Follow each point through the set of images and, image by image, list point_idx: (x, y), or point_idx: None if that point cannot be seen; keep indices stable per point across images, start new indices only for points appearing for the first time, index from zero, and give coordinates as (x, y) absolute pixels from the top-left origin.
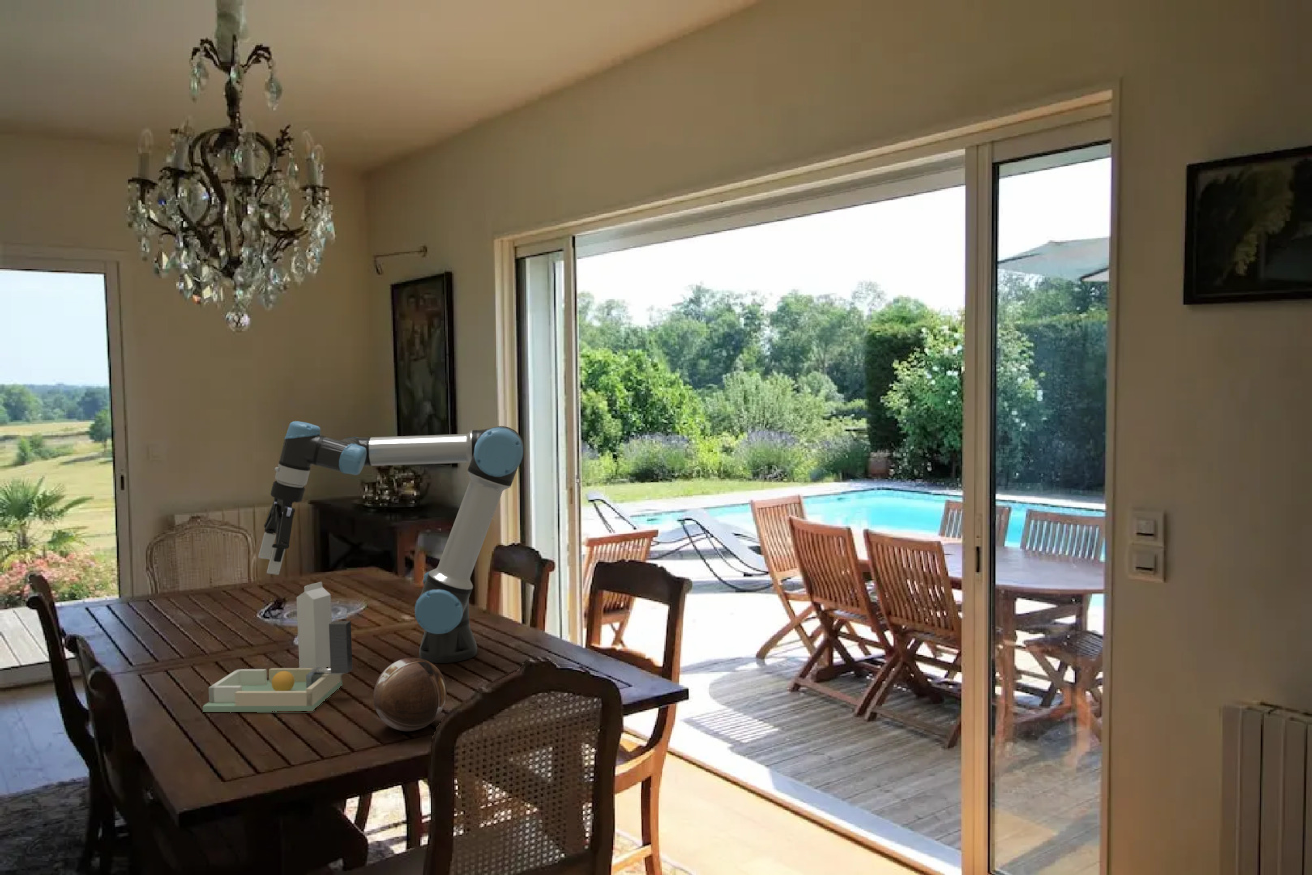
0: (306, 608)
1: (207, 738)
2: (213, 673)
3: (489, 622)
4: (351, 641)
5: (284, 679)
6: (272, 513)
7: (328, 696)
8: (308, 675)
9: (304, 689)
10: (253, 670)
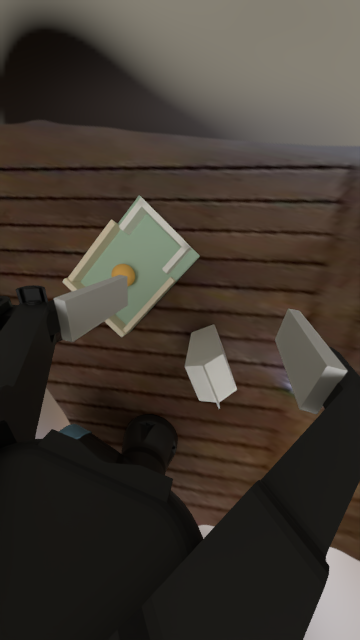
0: (200, 354)
1: (67, 183)
2: (275, 246)
3: None
4: (57, 341)
5: (111, 273)
6: (213, 530)
7: None
8: None
9: None
10: (171, 259)
